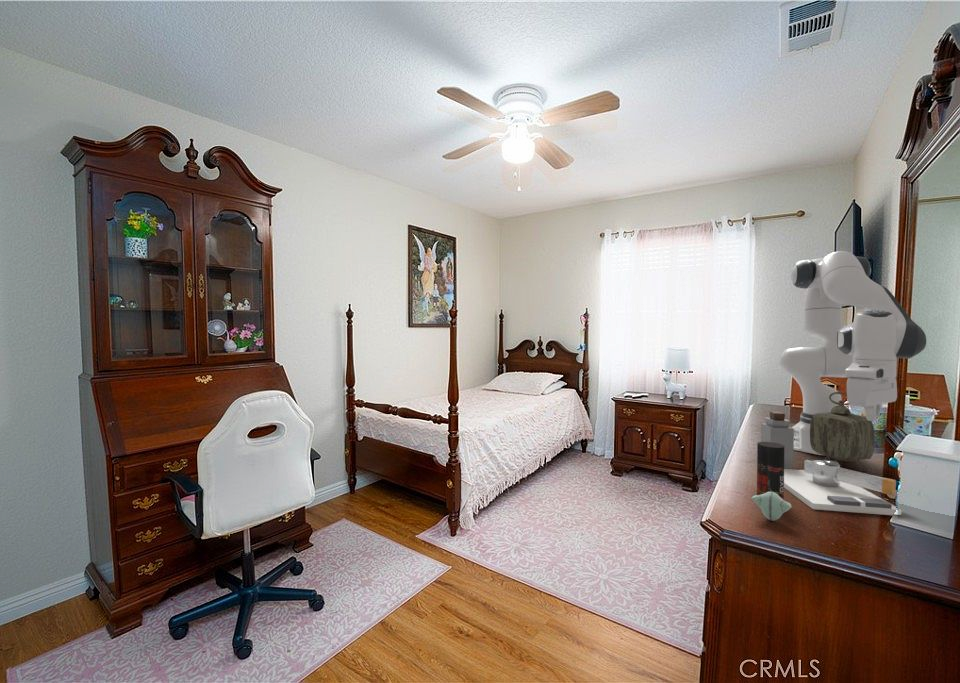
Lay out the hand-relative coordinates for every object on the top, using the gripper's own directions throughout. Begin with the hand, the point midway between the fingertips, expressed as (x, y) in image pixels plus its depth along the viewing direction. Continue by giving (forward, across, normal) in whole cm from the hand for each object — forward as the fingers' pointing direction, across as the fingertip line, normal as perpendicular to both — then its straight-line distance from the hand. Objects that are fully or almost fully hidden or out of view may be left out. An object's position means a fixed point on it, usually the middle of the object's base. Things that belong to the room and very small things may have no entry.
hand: (872, 420), depth 114 cm
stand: (+21, +8, -7) cm, 24 cm away
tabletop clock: (+21, -20, -15) cm, 33 cm away
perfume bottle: (+21, -4, -26) cm, 34 cm away
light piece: (+19, +6, -3) cm, 20 cm away
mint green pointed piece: (+21, +40, -4) cm, 46 cm away
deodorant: (+21, +28, -11) cm, 37 cm away
